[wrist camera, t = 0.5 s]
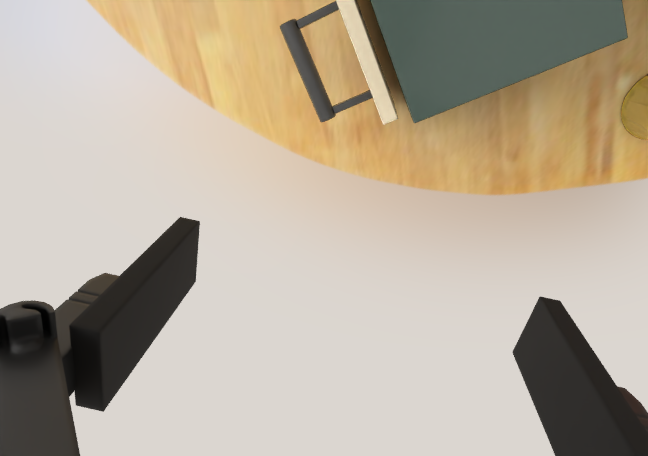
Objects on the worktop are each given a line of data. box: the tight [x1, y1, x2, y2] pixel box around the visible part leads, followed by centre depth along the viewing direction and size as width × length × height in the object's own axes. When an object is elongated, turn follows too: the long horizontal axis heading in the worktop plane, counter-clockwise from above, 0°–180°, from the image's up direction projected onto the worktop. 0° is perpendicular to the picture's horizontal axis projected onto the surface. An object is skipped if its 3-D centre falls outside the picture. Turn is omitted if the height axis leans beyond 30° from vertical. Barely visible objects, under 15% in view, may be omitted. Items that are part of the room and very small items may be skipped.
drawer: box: [280, 0, 398, 125], centre depth 34 cm, size 18×11×8 cm, turn 114°
